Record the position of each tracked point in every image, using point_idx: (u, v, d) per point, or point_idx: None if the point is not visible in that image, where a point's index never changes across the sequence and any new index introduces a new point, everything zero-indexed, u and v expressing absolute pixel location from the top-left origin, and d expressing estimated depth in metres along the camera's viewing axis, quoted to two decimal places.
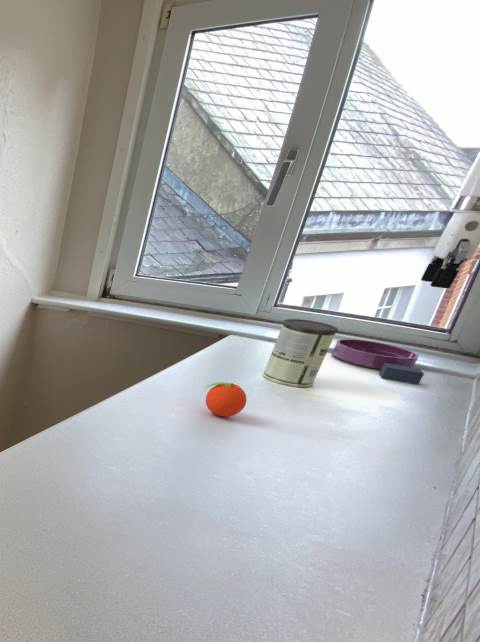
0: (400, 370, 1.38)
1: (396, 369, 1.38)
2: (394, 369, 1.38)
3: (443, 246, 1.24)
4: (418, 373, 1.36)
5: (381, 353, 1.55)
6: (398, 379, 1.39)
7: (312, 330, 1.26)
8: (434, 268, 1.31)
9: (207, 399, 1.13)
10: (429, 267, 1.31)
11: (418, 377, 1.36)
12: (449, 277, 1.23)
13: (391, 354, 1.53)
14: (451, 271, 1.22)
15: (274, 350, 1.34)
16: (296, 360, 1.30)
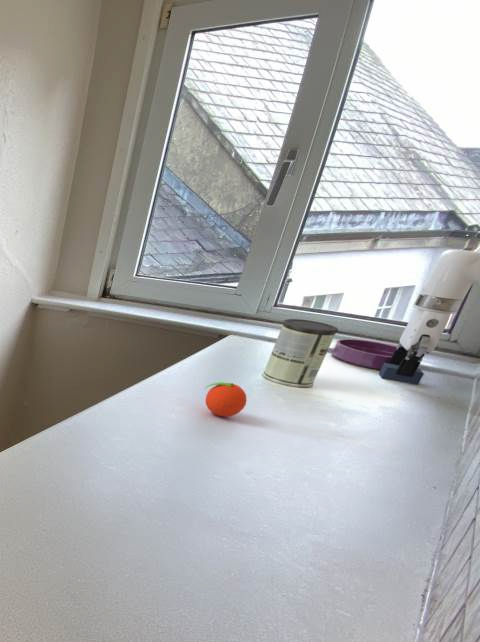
0: None
1: (396, 369, 1.38)
2: (394, 369, 1.38)
3: (407, 338, 1.35)
4: (418, 373, 1.36)
5: (381, 353, 1.55)
6: (398, 379, 1.39)
7: (312, 330, 1.26)
8: (400, 354, 1.41)
9: (207, 399, 1.13)
10: (395, 353, 1.42)
11: (418, 377, 1.36)
12: (412, 367, 1.34)
13: (391, 354, 1.53)
14: (413, 362, 1.33)
15: (274, 350, 1.34)
16: (296, 360, 1.30)
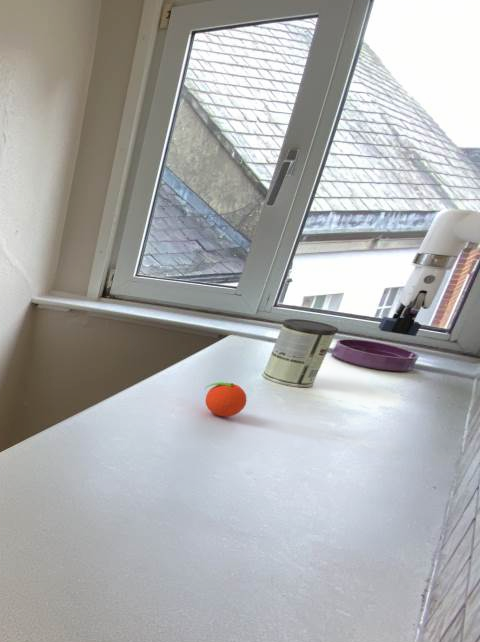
0: None
1: (395, 321, 1.45)
2: (393, 322, 1.45)
3: (406, 295, 1.42)
4: (416, 325, 1.43)
5: (381, 353, 1.55)
6: None
7: (312, 330, 1.26)
8: None
9: (207, 399, 1.13)
10: (394, 317, 1.48)
11: (415, 329, 1.43)
12: (406, 325, 1.43)
13: (391, 354, 1.53)
14: (407, 320, 1.43)
15: (274, 350, 1.34)
16: (296, 360, 1.30)
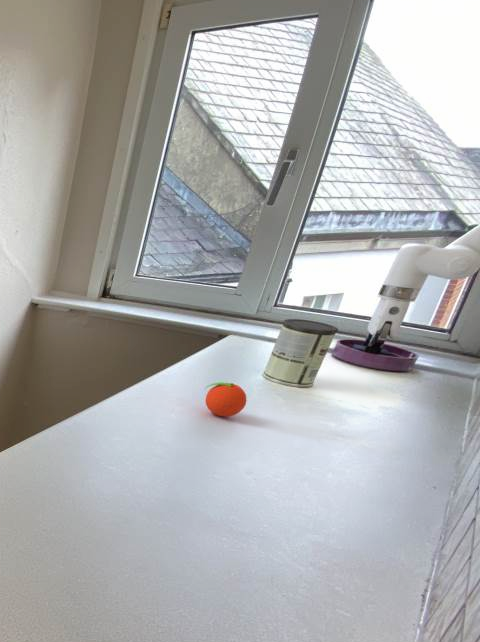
0: None
1: (364, 349, 1.51)
2: (362, 349, 1.51)
3: (373, 325, 1.48)
4: (383, 353, 1.49)
5: None
6: None
7: (312, 330, 1.26)
8: (368, 346, 1.53)
9: (207, 399, 1.13)
10: (363, 344, 1.54)
11: None
12: (374, 353, 1.49)
13: (391, 354, 1.53)
14: (375, 349, 1.48)
15: (274, 350, 1.34)
16: (296, 360, 1.30)
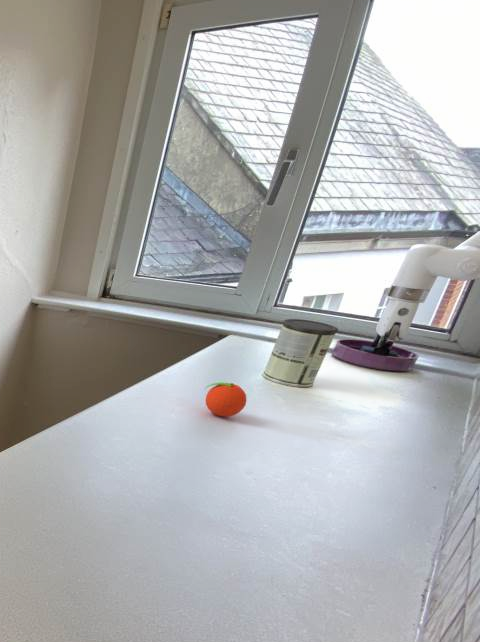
0: None
1: None
2: (371, 351, 1.50)
3: (381, 326, 1.47)
4: (392, 354, 1.48)
5: None
6: None
7: (312, 330, 1.26)
8: (376, 347, 1.52)
9: (207, 399, 1.13)
10: (372, 346, 1.53)
11: None
12: None
13: None
14: (384, 350, 1.48)
15: (274, 350, 1.34)
16: (296, 360, 1.30)
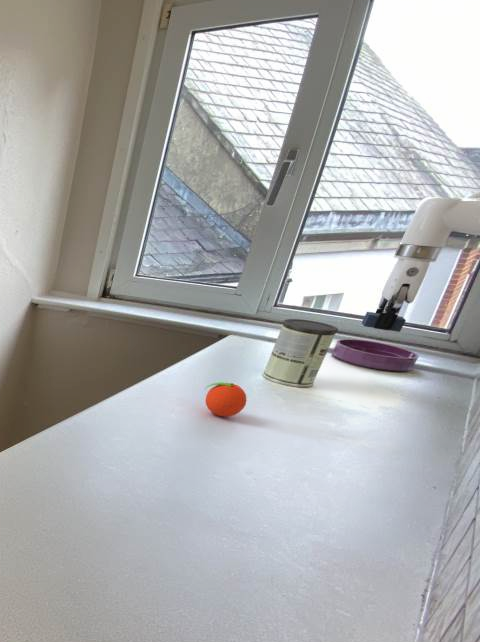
0: None
1: (378, 316, 1.38)
2: (376, 316, 1.38)
3: (388, 289, 1.35)
4: (400, 320, 1.36)
5: (381, 353, 1.55)
6: None
7: (312, 330, 1.26)
8: (382, 313, 1.40)
9: (207, 399, 1.13)
10: (377, 312, 1.41)
11: (400, 324, 1.36)
12: (389, 320, 1.36)
13: (391, 354, 1.53)
14: (390, 315, 1.35)
15: (274, 350, 1.34)
16: (296, 360, 1.30)
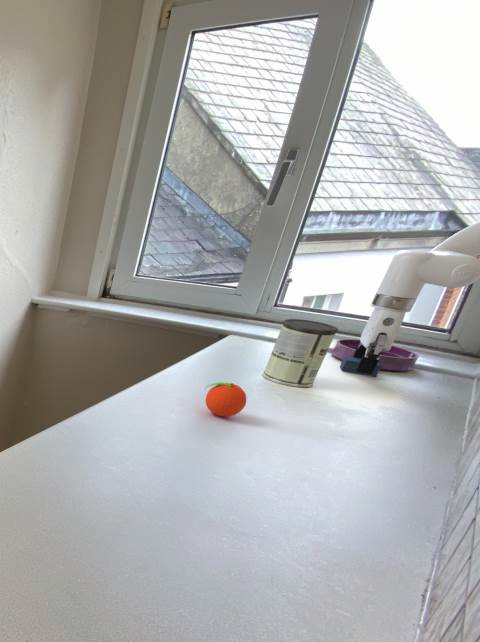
0: None
1: (355, 362, 1.42)
2: (353, 362, 1.42)
3: (366, 336, 1.39)
4: (376, 366, 1.40)
5: None
6: (357, 372, 1.43)
7: (312, 330, 1.26)
8: (361, 352, 1.45)
9: (207, 399, 1.13)
10: (357, 351, 1.46)
11: (376, 370, 1.40)
12: (371, 365, 1.38)
13: (391, 354, 1.53)
14: (372, 360, 1.37)
15: (274, 350, 1.34)
16: (296, 360, 1.30)
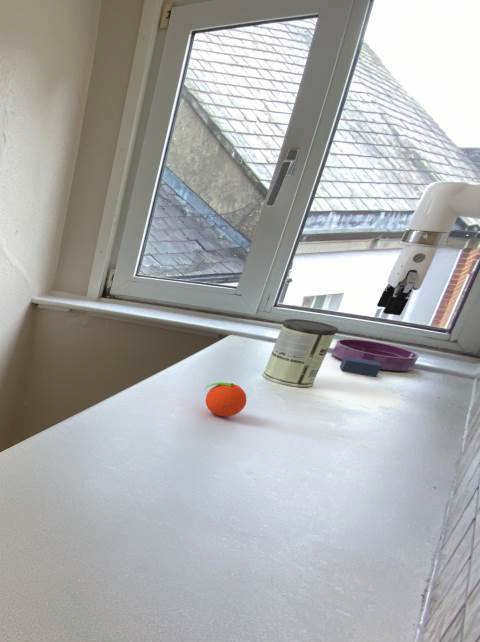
0: (359, 363, 1.42)
1: (355, 362, 1.42)
2: (353, 362, 1.42)
3: (394, 276, 1.33)
4: (376, 366, 1.40)
5: (381, 353, 1.55)
6: (357, 372, 1.43)
7: (312, 330, 1.26)
8: (388, 295, 1.39)
9: (207, 399, 1.13)
10: (384, 294, 1.40)
11: (376, 370, 1.40)
12: (400, 305, 1.31)
13: (391, 354, 1.53)
14: (401, 300, 1.31)
15: (274, 350, 1.34)
16: (296, 360, 1.30)
